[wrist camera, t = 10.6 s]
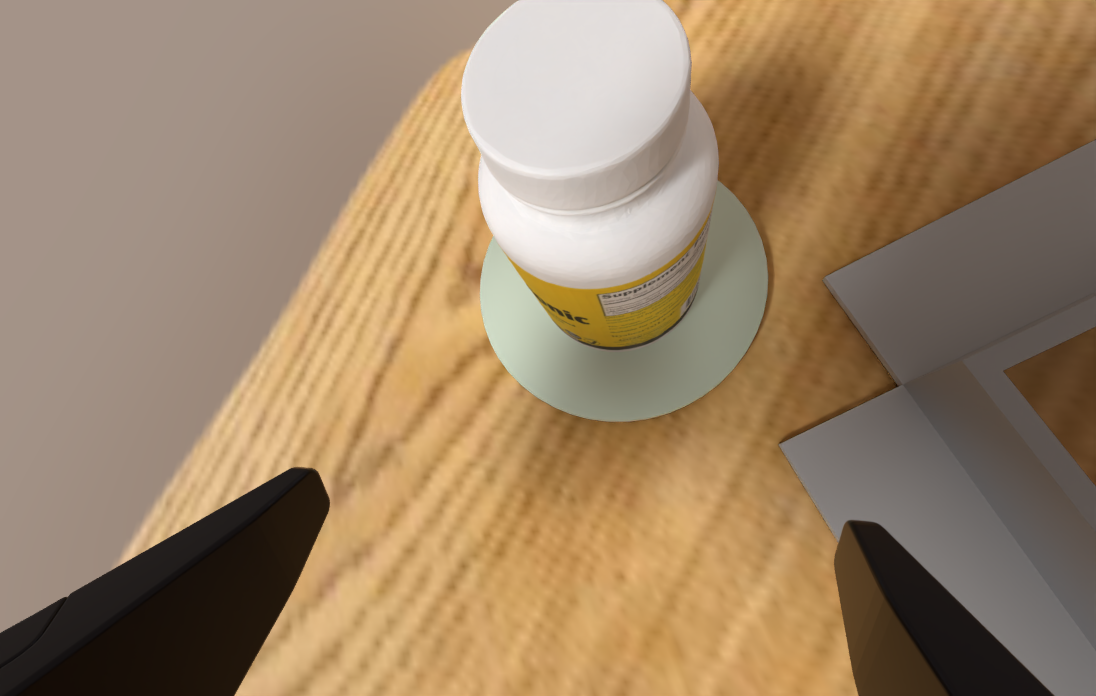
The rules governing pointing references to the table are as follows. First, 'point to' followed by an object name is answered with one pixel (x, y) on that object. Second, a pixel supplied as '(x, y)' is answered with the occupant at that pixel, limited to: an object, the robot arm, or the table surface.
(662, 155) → the supplement bottle
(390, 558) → the table surface
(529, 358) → the felt pad
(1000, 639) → the carton
